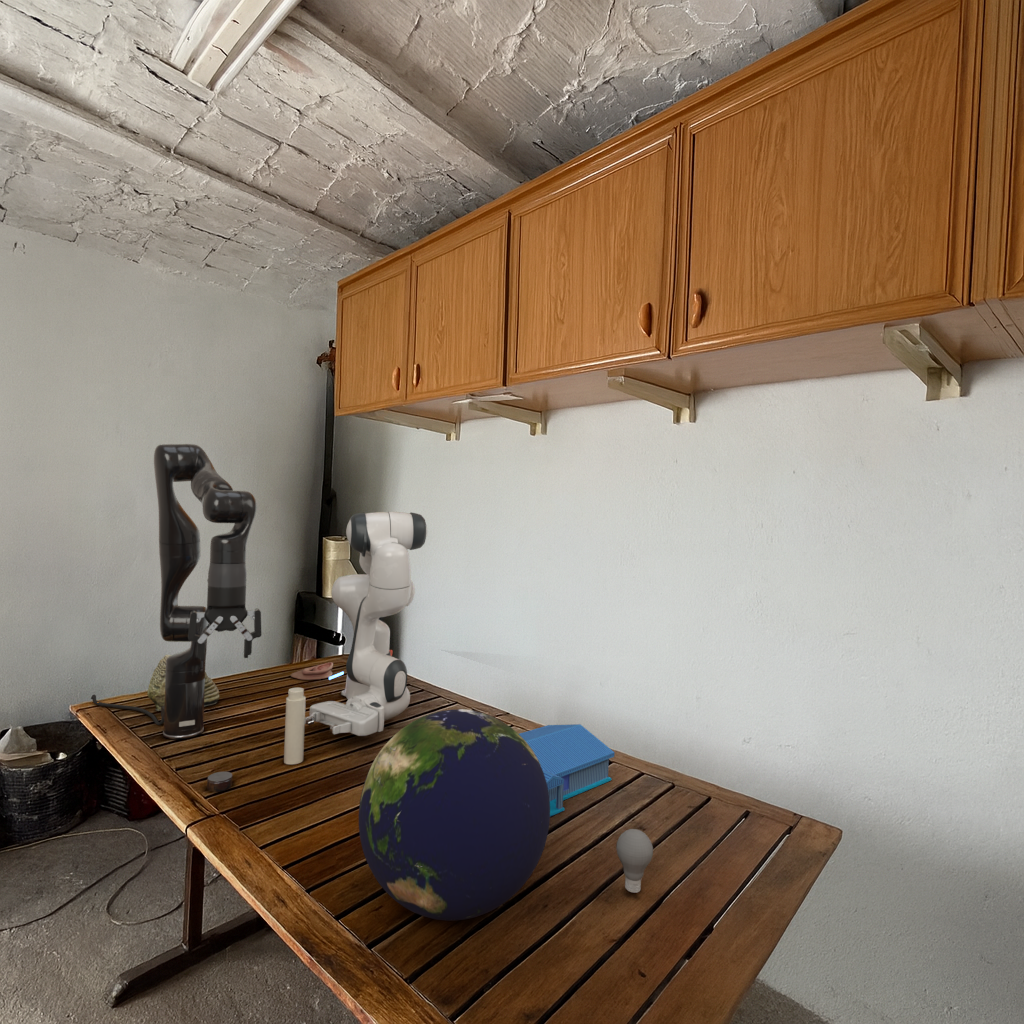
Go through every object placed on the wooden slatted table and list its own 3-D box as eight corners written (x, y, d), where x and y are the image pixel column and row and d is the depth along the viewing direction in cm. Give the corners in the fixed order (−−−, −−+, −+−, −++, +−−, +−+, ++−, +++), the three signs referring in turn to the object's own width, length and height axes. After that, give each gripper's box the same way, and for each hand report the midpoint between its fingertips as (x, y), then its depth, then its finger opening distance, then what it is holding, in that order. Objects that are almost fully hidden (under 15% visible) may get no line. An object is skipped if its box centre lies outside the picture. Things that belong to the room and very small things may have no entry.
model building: (493, 841, 119) (496, 788, 119) (420, 792, 137) (422, 747, 137) (623, 784, 145) (625, 741, 145) (547, 750, 164) (548, 712, 163)
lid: (231, 790, 135) (231, 780, 135) (205, 793, 133) (205, 782, 133) (233, 780, 139) (233, 770, 139) (208, 782, 138) (209, 772, 138)
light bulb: (610, 879, 108) (613, 822, 108) (644, 879, 109) (647, 822, 109) (619, 902, 102) (622, 840, 102) (655, 901, 103) (658, 840, 103)
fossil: (144, 707, 182) (145, 655, 182) (212, 696, 194) (213, 647, 194) (151, 716, 175) (153, 662, 175) (221, 703, 188) (223, 653, 188)
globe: (312, 931, 92) (320, 727, 92) (418, 834, 120) (424, 677, 120) (501, 1001, 81) (511, 769, 81) (569, 876, 109) (577, 703, 108)
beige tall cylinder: (279, 761, 150) (282, 690, 150) (294, 755, 154) (296, 685, 154) (293, 766, 148) (295, 693, 148) (307, 759, 152) (310, 688, 152)
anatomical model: (285, 666, 217) (303, 658, 228) (285, 677, 217) (303, 669, 228) (321, 670, 214) (337, 661, 225) (321, 681, 214) (337, 673, 225)
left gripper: (190, 586, 129) (187, 665, 129) (264, 585, 136) (261, 660, 136) (189, 581, 136) (187, 657, 136) (260, 580, 142) (258, 652, 143)
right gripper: (334, 692, 175) (292, 704, 163) (388, 708, 163) (347, 722, 152) (333, 714, 175) (291, 728, 163) (387, 732, 164) (346, 748, 152)
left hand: (224, 658), depth 136 cm, fingers open, 8 cm apart
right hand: (319, 726), depth 157 cm, fingers open, 8 cm apart
